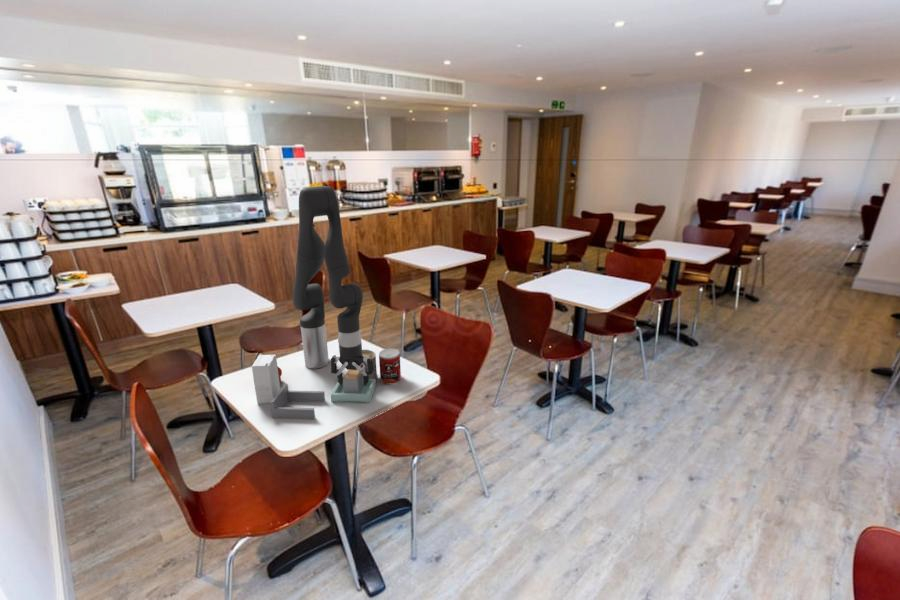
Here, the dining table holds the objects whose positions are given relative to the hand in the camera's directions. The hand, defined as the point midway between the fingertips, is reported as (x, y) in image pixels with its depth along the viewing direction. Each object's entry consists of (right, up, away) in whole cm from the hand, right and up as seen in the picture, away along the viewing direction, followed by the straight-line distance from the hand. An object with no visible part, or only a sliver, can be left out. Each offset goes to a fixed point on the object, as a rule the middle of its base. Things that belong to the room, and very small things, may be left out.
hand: (353, 383), depth 147 cm
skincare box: (-29, -5, -1) cm, 29 cm away
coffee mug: (+1, 0, +13) cm, 13 cm away
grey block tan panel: (0, -3, +1) cm, 4 cm away
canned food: (+11, -1, +11) cm, 16 cm away
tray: (0, -4, +1) cm, 4 cm away
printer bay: (-16, -7, -7) cm, 19 cm away
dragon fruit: (-33, -2, +8) cm, 34 cm away
